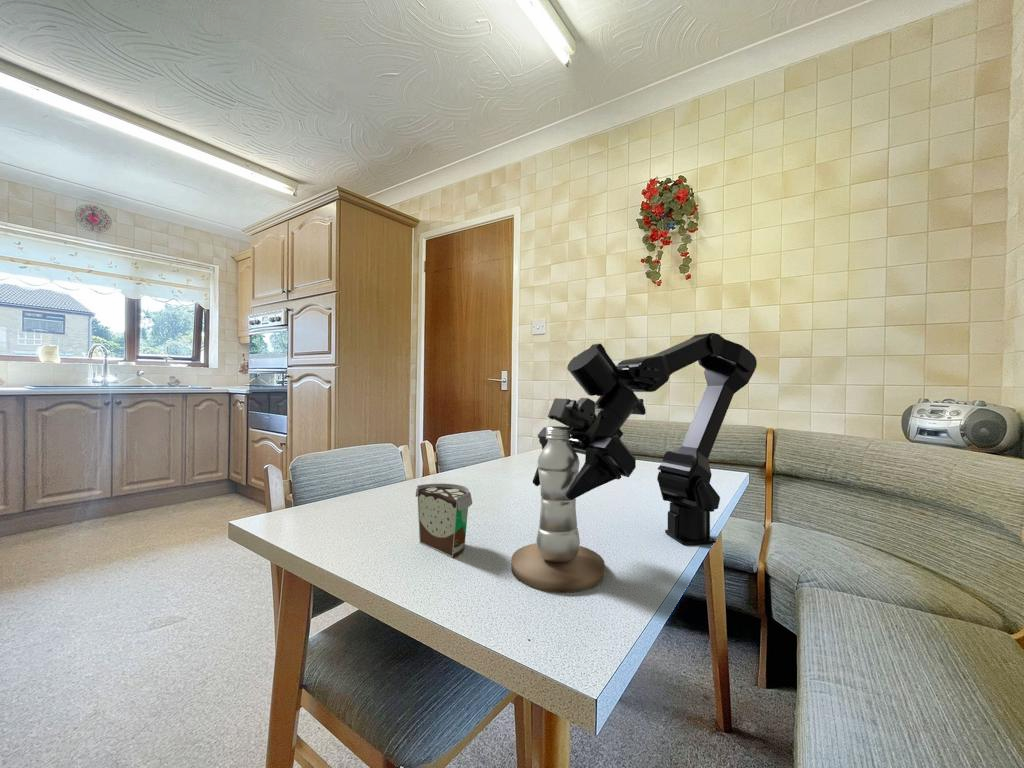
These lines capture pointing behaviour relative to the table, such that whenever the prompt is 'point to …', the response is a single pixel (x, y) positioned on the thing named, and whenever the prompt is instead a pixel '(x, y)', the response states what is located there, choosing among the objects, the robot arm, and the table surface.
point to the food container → (443, 517)
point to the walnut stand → (558, 570)
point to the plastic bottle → (557, 497)
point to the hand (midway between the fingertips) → (550, 490)
